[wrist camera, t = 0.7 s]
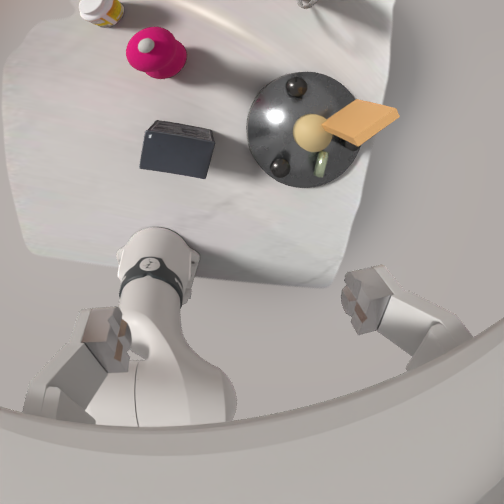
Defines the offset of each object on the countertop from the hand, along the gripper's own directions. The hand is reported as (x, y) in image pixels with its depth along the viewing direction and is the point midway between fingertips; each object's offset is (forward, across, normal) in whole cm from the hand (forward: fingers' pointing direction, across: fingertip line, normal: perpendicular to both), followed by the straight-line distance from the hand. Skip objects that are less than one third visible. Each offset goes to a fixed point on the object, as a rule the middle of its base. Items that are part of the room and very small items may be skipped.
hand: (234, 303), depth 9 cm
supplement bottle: (+43, -15, +25) cm, 52 cm away
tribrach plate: (+43, +19, -2) cm, 47 cm away
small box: (+44, -5, -2) cm, 44 cm away
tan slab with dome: (+41, +22, 0) cm, 46 cm away
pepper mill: (+43, -6, +13) cm, 46 cm away
